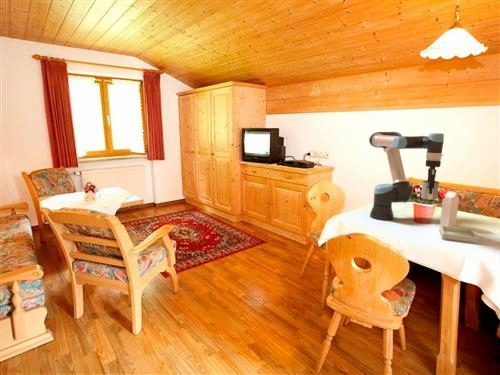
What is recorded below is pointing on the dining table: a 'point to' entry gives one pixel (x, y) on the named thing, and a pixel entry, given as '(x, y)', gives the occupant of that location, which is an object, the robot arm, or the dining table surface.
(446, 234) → the bin
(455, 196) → the milk
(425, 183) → the cup
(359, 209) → the dining table surface
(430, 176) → the robot arm
